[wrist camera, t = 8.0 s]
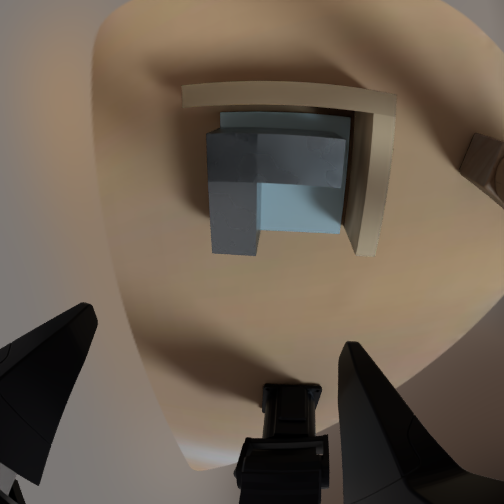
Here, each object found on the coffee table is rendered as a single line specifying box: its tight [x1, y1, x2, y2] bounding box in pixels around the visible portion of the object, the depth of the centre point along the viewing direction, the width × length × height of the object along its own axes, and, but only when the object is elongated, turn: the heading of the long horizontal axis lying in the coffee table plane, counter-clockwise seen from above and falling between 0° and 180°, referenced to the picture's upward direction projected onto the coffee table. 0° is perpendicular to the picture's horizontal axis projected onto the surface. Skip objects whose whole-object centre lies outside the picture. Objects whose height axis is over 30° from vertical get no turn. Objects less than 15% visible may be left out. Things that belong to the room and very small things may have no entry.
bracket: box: [206, 127, 346, 256], centre depth 17 cm, size 7×7×4 cm
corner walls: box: [182, 81, 397, 257], centre depth 16 cm, size 9×11×4 cm
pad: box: [220, 112, 351, 234], centre depth 18 cm, size 8×8×1 cm
